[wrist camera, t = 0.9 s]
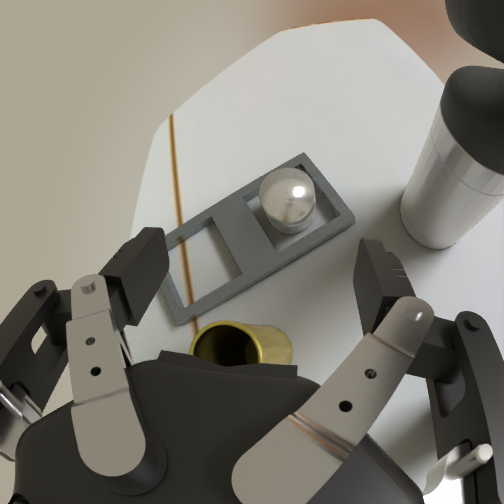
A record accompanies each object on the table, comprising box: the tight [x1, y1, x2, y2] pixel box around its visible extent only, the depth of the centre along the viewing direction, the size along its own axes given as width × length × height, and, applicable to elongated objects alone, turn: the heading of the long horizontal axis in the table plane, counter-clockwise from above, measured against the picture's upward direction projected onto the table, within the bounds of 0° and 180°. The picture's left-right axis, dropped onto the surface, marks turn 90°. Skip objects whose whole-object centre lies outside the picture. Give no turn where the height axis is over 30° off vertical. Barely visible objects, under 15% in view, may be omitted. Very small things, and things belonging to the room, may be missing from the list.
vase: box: [189, 321, 292, 367], centre depth 25 cm, size 6×6×14 cm
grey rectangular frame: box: [160, 152, 356, 325], centre depth 34 cm, size 24×11×5 cm, turn 118°
